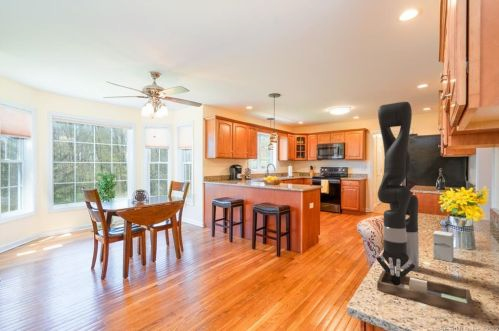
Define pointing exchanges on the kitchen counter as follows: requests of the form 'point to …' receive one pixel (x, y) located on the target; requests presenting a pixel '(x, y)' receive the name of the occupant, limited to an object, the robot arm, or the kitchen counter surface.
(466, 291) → the channel
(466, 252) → the kitchen counter surface
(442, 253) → the supplement box
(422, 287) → the cream block
